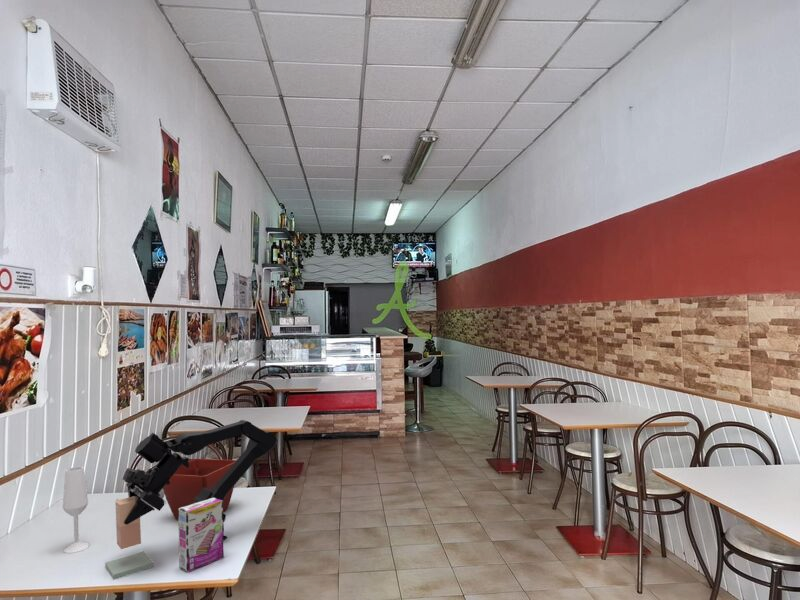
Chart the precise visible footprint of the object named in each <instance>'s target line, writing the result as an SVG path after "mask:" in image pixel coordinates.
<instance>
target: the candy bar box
mask: <svg viewBox="0 0 800 600" xmlns="http://www.w3.org/2000/svg"><path fill="white" fill-rule="evenodd" d="M223 513H224V511H223V501H222V500H220V499H217V498H210V499H207V500H204V501H201V502H197V503H194V504H191V505H188V506H184V507H181V508H178V516H179V520H178V562H179V563H178V564H179V566H178V567H179V569H181V570H182V571H185V572H187V573H189V572H191V571H194V570H196V569H199V568H201V567H204V566H206V565H209V564H211V563H214V562H215V561H218V560H220V558H221V559H223V558H224V540H223V523H224V522H223Z"/></svg>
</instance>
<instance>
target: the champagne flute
mask: <svg viewBox="0 0 800 600" xmlns="http://www.w3.org/2000/svg"><path fill="white" fill-rule="evenodd" d="M64 472H65V473H64V486H63V498H62V509H63V511H64V512H65V513H66V514H67V515H70V516H71V517H73V540H74V541H73V542H72V543H71V544H69V546H67V547H66V548H65V549H64V550H63V552H64V553H66V554H67V553H68V554H71V553H78V552H81V551H84V550H86V549H88V548H89V546H90V543H86V542H83V541H81V540H79V539H80V538H79V536H80V533H79V516H80V515H81V514H82V513H83V512H84V510H86V509H87V506H88V505H89V498H88V491H87V484H86V483H87V482H86V475H85V470H84V466H73V467H69V468H67V469H65V471H64ZM77 551H78V552H77Z"/></svg>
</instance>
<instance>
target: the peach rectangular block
mask: <svg viewBox="0 0 800 600" xmlns="http://www.w3.org/2000/svg"><path fill="white" fill-rule="evenodd" d="M128 497H129V496H128ZM128 497H124V498H120V499H116V500H115V525H116V526H115V527H116V544H117V546H118V547H119V548H120V550H124V549H126V548H131V547H134V546H137V545H141V544H142V537H141V536H142V534H141V533H142V532H141V517H139V518H138V519H136V520H134V521H133V522H131V523H129V524H127V525H126V524H124V521H125V519H126V518H127V516H128V515H129V513H130V511H131V510H132V508H133V507H134V505H135V496H133V497H129V498H128Z"/></svg>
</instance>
